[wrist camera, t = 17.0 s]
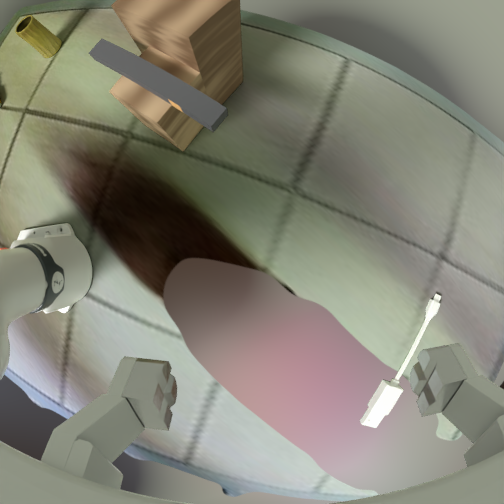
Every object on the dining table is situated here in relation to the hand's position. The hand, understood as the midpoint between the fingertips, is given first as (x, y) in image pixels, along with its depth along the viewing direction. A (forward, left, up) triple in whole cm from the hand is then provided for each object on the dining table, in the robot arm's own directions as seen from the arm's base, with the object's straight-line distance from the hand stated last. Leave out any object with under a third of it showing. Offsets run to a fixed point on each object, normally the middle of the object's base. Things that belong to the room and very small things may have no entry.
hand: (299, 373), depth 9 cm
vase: (-57, +45, -46) cm, 86 cm away
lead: (-18, +23, -29) cm, 41 cm away
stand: (-17, +28, -46) cm, 56 cm away
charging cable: (+34, -21, -46) cm, 61 cm away
